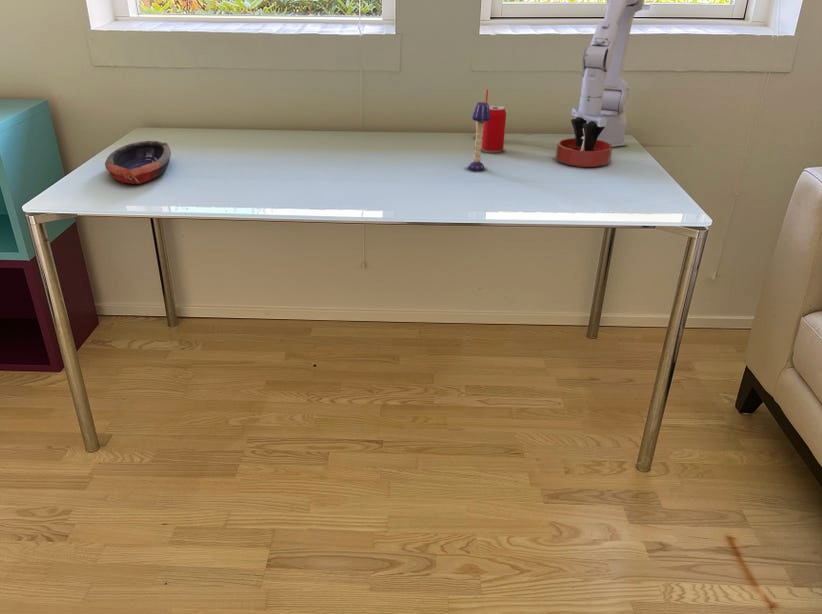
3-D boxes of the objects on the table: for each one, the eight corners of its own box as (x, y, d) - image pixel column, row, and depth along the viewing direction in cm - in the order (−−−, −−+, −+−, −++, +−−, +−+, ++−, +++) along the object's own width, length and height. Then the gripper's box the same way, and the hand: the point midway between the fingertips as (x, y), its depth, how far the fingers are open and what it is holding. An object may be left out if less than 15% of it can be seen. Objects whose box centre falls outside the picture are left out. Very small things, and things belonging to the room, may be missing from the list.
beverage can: (502, 148, 208) (506, 104, 202) (503, 154, 203) (507, 109, 197) (480, 147, 209) (483, 104, 203) (481, 153, 204) (484, 109, 197)
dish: (181, 155, 201) (179, 137, 199) (159, 189, 175) (156, 169, 172) (124, 156, 200) (121, 137, 198) (93, 191, 174) (89, 170, 171)
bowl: (577, 151, 206) (579, 135, 203) (620, 162, 196) (622, 145, 194) (544, 160, 198) (546, 143, 196) (587, 171, 189) (589, 154, 186)
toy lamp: (474, 165, 193) (478, 100, 185) (489, 168, 191) (494, 102, 182) (465, 169, 190) (469, 103, 181) (480, 172, 188) (485, 105, 179)
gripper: (564, 91, 193) (558, 142, 200) (592, 102, 181) (584, 156, 188) (588, 89, 195) (580, 141, 202) (617, 100, 183) (608, 154, 190)
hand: (584, 148), depth 195 cm, fingers open, 4 cm apart
